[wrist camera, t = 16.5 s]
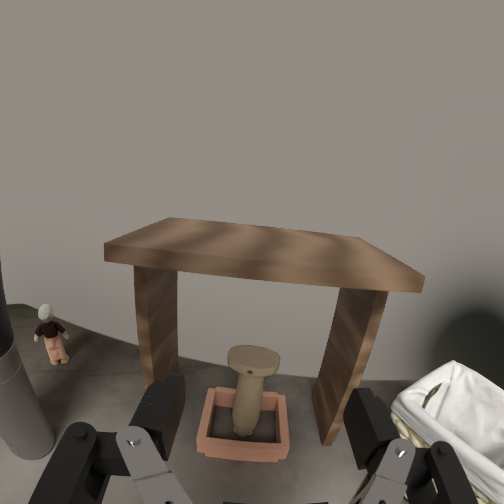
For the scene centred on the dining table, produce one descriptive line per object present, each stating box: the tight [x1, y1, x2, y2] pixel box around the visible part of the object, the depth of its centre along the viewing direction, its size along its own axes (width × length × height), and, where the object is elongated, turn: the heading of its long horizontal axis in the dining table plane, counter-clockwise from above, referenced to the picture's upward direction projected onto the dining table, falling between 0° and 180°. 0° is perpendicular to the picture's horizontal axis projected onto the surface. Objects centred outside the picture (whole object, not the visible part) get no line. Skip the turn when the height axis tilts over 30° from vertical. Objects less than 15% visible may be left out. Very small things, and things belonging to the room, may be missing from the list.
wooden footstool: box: [104, 218, 425, 446], centre depth 32 cm, size 27×18×30 cm, turn 88°
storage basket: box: [390, 361, 504, 504], centre depth 20 cm, size 24×16×15 cm
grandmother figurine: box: [34, 304, 69, 365], centre depth 40 cm, size 8×4×13 cm, turn 140°
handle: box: [228, 345, 280, 437], centre depth 34 cm, size 5×6×15 cm
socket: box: [196, 387, 290, 462], centre depth 35 cm, size 12×12×4 cm
